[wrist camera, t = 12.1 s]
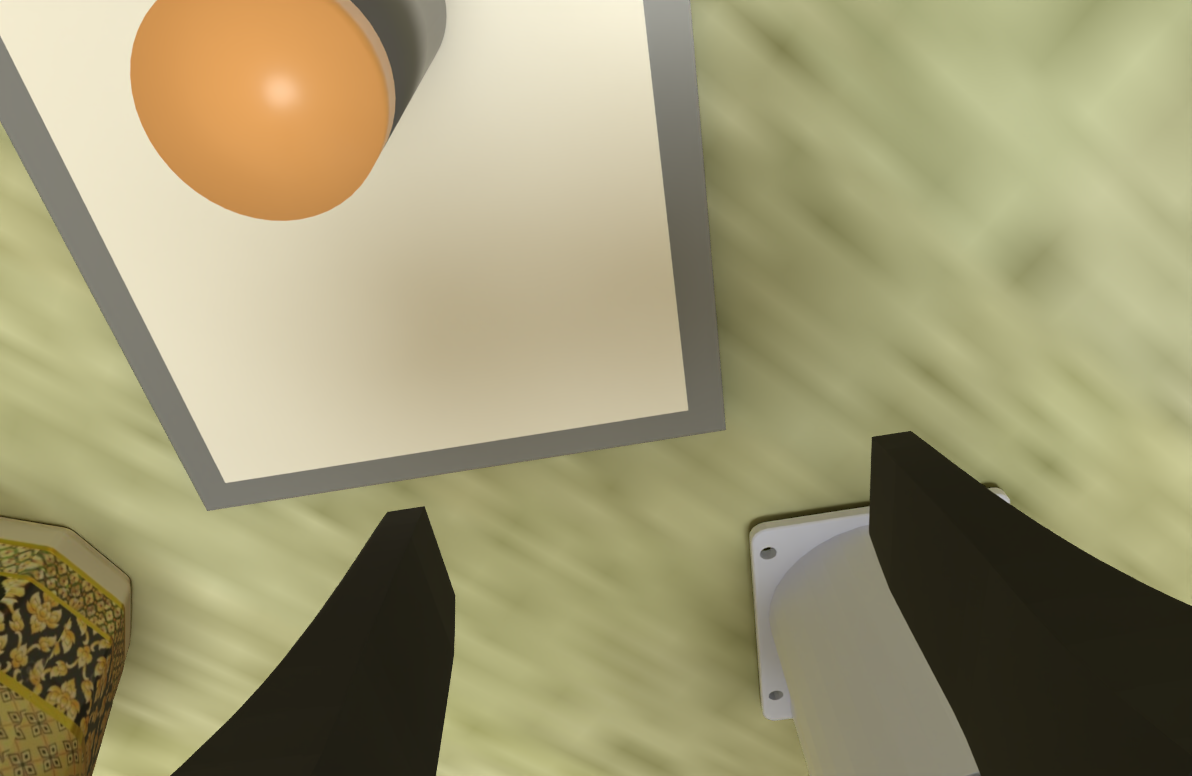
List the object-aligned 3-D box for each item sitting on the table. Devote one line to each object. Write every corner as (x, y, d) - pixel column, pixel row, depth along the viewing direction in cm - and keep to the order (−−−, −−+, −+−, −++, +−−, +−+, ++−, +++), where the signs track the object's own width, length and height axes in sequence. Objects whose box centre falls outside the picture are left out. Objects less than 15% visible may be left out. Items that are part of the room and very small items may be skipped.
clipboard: (721, 417, 24) (732, 451, 23) (213, 497, 25) (195, 534, 23) (635, -604, 13) (645, -655, 12) (-265, -425, 14) (-352, -456, 12)
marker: (461, 72, 18) (411, 200, 11) (324, 96, 18) (191, 238, 11) (425, -88, 16) (340, -52, 9) (274, -62, 16) (84, -6, 10)
